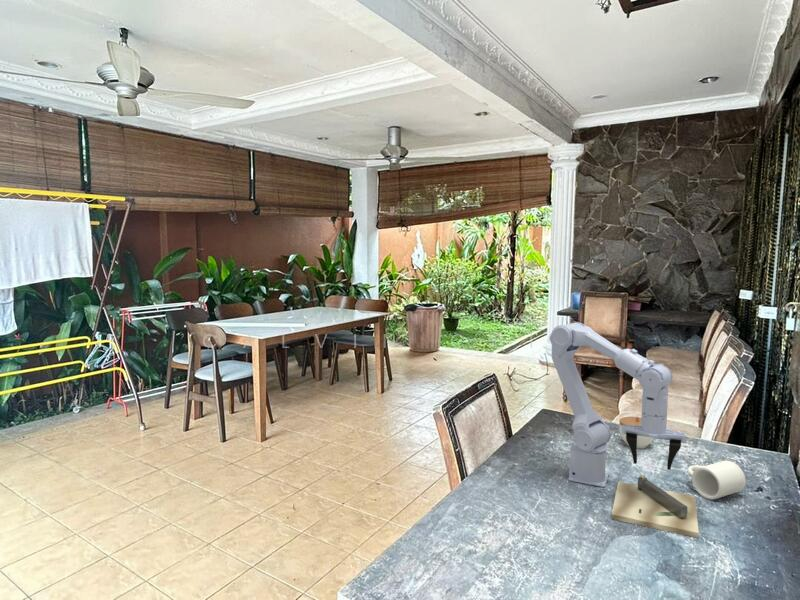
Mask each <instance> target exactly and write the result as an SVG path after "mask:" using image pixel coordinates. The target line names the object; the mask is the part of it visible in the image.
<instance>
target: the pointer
mask: <svg viewBox="0 0 800 600" xmlns="http://www.w3.org/2000/svg"><path fill="white" fill-rule="evenodd" d="M637 485H638V489H639V490H642V491H644V492H645V493H646V494H648V495H649V496H651V497H652V498H653V499H655V500H656V501H658V502H659V503H660V504H662V505H663V506H665V507H666V508H667V509H669V510H670V511H672V512H673V513H674V514H676V515H677V516H679V517H680V518H687V506H685V505H684V504H682V503H681V502H679V501H678V500H676V499H675V498H674V497H672V496H671V495H669V494H668V493H666V492H665V491H666V490H665V491H663V490H664V489H662V488H660V487H658V485H656V484H654V483H653V482H652V481H650V480H648V477H646V476H645V475H640V476H638V477H637Z"/></svg>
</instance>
